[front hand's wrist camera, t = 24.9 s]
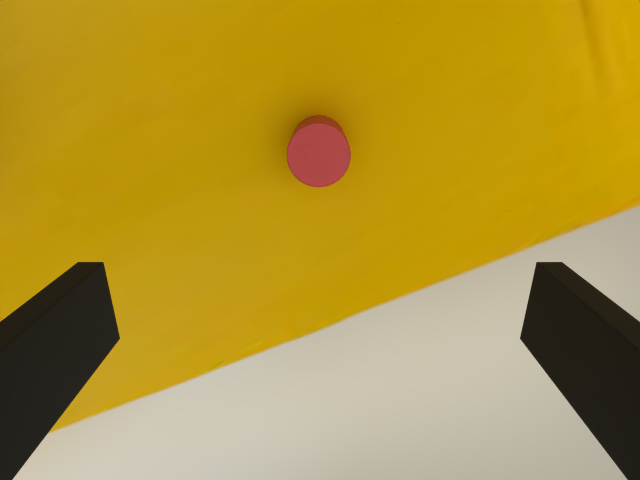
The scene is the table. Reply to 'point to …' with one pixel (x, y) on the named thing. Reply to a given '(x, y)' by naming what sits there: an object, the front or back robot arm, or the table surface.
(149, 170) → the table surface
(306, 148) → the can
